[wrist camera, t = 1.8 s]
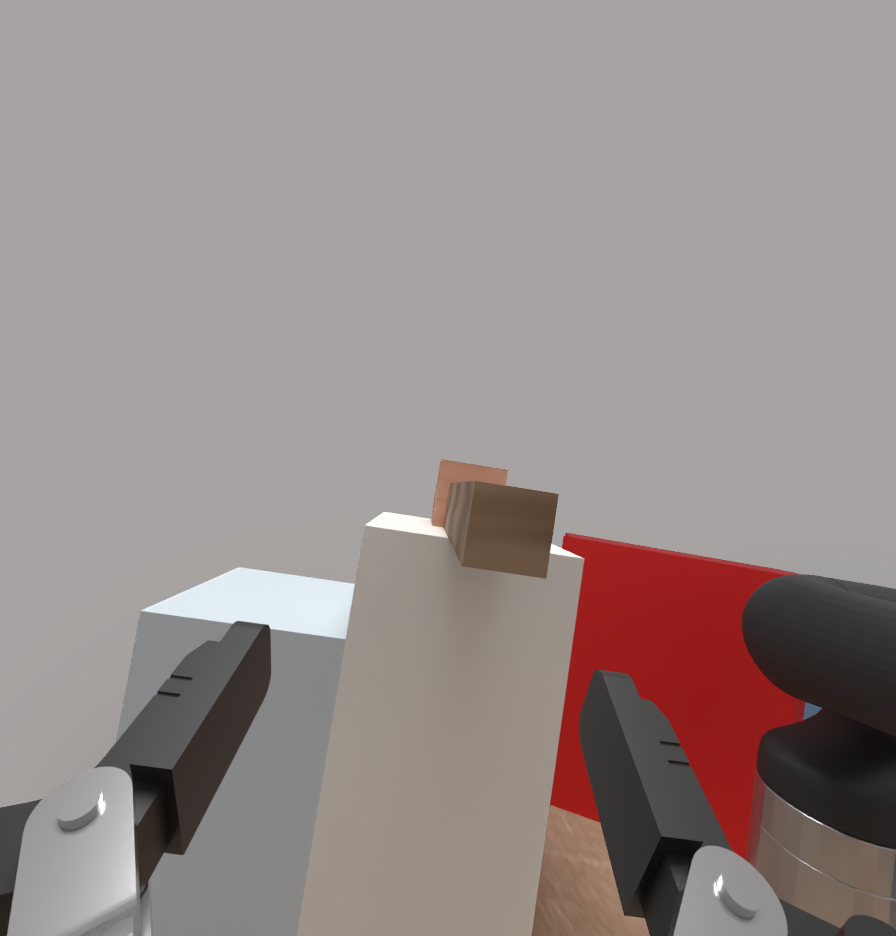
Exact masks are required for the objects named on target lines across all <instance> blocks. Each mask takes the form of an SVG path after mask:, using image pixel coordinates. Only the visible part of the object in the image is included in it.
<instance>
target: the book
mask: <svg viewBox="0 0 896 936" xmlns="http://www.w3.org/2000/svg"><path fill="white" fill-rule="evenodd" d="M562 549H564V550H566V551H569V552H571V553H573V554H575V555H577V556H580V557H582V558H584V565H583V572H582V579H581V587H580V594H579V601H578V608H577V615H576V622H575V629H574V636H573V644H572V651H571V658H570V665H569V672H568V679H567V686H566V693H565V700H564V708H563V715H562V722H561V729H560V736H559V743H558V750H557V757H556V764H555V772H554V779H553V786H552V793H551V800H550V805H553V806H556V807H558V808H561V809H564V810H567V811H570V812H572V813H575V814H578V815H581V816H584V817H586V818H589V819H592V820H595V821H598V822H600V819H599V815H598V811H597V807H596V803H595V799H594V795H593V791H592V787H591V784H590V780H589V776H588V772H587V768H586V764H585V760H584V756H583V752H582V749H581V745H580V739H579V717H580V712H581V709H582V706H583V703H584V700H585V697H586V693H587V690H588V687H589V684H590V681H591V678H592V675H593V673H594V671H595V670H604V671H612V672H620V673H627V674H628V675H630V677H631V678H632V680H633V682H634V685H635V687H636V689H637V691H638V694H639V696H640V698H641V699H645V700H651V701H652V702H653V703H654V704H655V705H656V706H657V708H658V709H659V710H660V711H661V712H662V713H663V714H664V715H665V717H666V718H667V719H668V720H669V721H670V724H671V726H672V728H673V730H674V732H675V734H676V736H677V738H678V740H679V742H680V747H681V748H683V750H684V752H685V754H686V757H687V759H688V761H689V766H690V768H692V769H693V771H694V773H695V775H696V777H697V779H698V781H699V783H700V785H701V787H702V790H703V792H704V794H705V796H706V798H707V800H708V802H709V804H710V806H711V808H712V810H713V812H714V814H715V816H716V818H717V820H718V822H719V825H720V827H721V829H722V831H723V833H724V835H725V837H726V839H727V841H728V843H729V845H730V847H731V849H732V850H733V852H734V853H736V854H737V855H739V856H740V857H742V858H743V859H745V858H746V850H747V842H748V833H749V825H750V817H751V808H752V798H753V789H754V781H755V772H756V763H757V754H758V747H759V742H760V739H761V737H762V736H763V734H764V733H765V732H767V731H768V730H770V729H772V728H776V727H780V726H784V725H789V724H793V723H797V722H800V721H803V717H804V708H805V701H802V700H799V699H796V698H794V697H792V696H790V695H788V694H786V693H785V692H783V691H782V690H780V689H779V688H778V687H776V686H775V685H774V684H773V683H771V681H770V680H769V679H768V678H767V677H766V676H765V675H764V674H763V673H762V672H761V671H760V669H759V668H758V667H757V665H756V664H755V663H754V661H753V659H752V657H751V655H750V654H749V652H748V649H747V647H746V644H745V642H744V638H743V633H742V614H743V610H744V607H745V605H746V603H747V601H748V599H749V598H750V596H751V595H752V593H753V592H754V591H755V590H756V589H758V588H759V587H760V586H761V585H762V584H764V583H766V582H767V581H769V580H772V579H774V578H777V577H780V576H785V575H795V574H797V573H793V572H788V571H782V570H778V569H773V568H767V567H761V566H755V565H749V564H744V563H738V562H732V561H726V560H721V559H715V558H709V557H703V556H698V555H692V554H686V553H680V552H675V551H669V550H663V549H657V548H651V547H646V546H640V545H634V544H628V543H622V542H617V541H611V540H605V539H599V538H593V537H588V536H582V535H576V534H570V533H566V536H564V538H563V545H562ZM797 575H801V574H797Z"/></svg>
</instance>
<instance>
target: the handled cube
mask: <svg viewBox="0 0 896 936" xmlns="http://www.w3.org/2000/svg"><path fill="white" fill-rule="evenodd" d="M507 472H508V470H505V469H498V468H492V467H485V466H479V465H474V464H467V463H461V462H455V461H448V460H442V461H441V462H440V466H439V473H438V479H437V485H436V491H435V498H434V504H433V510H432V517H431V523H432V526H437V527H443V528H444V530H445V532H446V534H447V536H448V538H449V540H450V542H451V545H452V547H453V549H454V551H455V553H456V555H457V557H458V559H459V561H460V563H461V565H462V566H464V567H471V568H477V569H484V570H491V571H497V572H504V573H511V574H518V575H524V576H531V577H538V578H545V579H546V577H547V570H548V564H549V557H550V550H551V543H552V535H553V529H554V522H555V515H556V508H557V501H558V494H554V493H548V492H542V491H536V490H530V489H523V488H517V487H511V486H505V484H506V479H507Z"/></svg>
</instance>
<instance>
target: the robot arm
mask: <svg viewBox="0 0 896 936" xmlns="http://www.w3.org/2000/svg"><path fill="white" fill-rule="evenodd" d="M742 633H743V638H744V642H745V644H746V647H747V649H748V652H749V654H750V655H751V657H752V659H753V661H754V663H755V664H756V665H757V667H758V668H759V669H760V671H761V672H762V673H763V674H764V675H765V676H766V677H767V678H768V679H769V680H770V681H771V683H773V684H774V685H775V686H776V687H778V688H779V689H780V690H782V691H783V692H785V693H786V694H788V695H790V696H792V697H794V698H796V699H799V700H802V701H805V702H807V703H810V704H813V705H816V706H819V707H822V709H821V710H820V711H819V712H818V713H817V714H815V715H813V716H812V717H810V718H808V719H806V720H803V721H800V722H797V723H793V724H789V725H784V726H780V727H776V728H772V729H770V730H768V731H767V732H765V733H764V734H763V736H762V737H761V739H760V742H759V747H758V754H757V763H756V772H755V781H754V789H753V798H752V808H751V817H750V825H749V833H748V842H747V850H746V858H745V859H743V858H742V857H740V856H739V855H737V854H736V853H734V852H733V850H732V849H731V847H730V845H729V843H728V841H727V839H726V837H725V835H724V833H723V831H722V829H721V827H720V825H719V822H718V820H717V818H716V816H715V814H714V812H713V810H712V808H711V806H710V804H709V802H708V800H707V798H706V796H705V794H704V792H703V790H702V787H701V785H700V783H699V781H698V779H697V777H696V775H695V773H694V771H693V769H692V768H690V766H689V761H688V759H687V757H686V754H685V752H684V750H683V748H681V747H680V742H679V740H678V738H677V736H676V734H675V732H674V730H673V728H672V726H671V724H670V721H669V720H668V719H667V718H666V717H665V715H664V714H663V713H662V712H661V711H660V710H659V709H658V708H657V706H656V705H655V704H654V703H653V702H652V701H651V700H645V699H641V698H640V696H639V694H638V691H637V689H636V687H635V685H634V682H633V680H632V678H631V677H630V675H628V674H627V673H620V672H612V671H604V670H595V671H594V673H593V675H592V678H591V681H590V684H589V687H588V690H587V693H586V697H585V700H584V703H583V706H582V709H581V712H580V717H579V739H580V745H581V749H582V752H583V756H584V760H585V764H586V768H587V772H588V776H589V780H590V784H591V787H592V791H593V795H594V799H595V803H596V807H597V811H598V815H599V819H600V823H601V826H602V830H603V834H604V838H605V842H606V846H607V850H608V854H609V858H610V861H611V865H612V869H613V873H614V877H615V881H616V885H617V889H618V893H619V896H620V900H621V904H622V908H623V912H624V915H626V916H633V917H641V918H645V920H646V923H647V927H648V930H649V934H650V936H896V589H892V588H887V587H881V586H876V585H869V584H863V583H857V582H851V581H845V580H839V579H833V578H826V577H821V576H815V575H797V574H795V575H785V576H780V577H777V578H774V579H772V580H769V581H767V582H766V583H764V584H762V585H761V586H760V587H759V588H758V589H756V590H755V591H754V592H753V593H752V595H751V596H750V598H749V599H748V601H747V603H746V605H745V607H744V610H743V614H742ZM270 678H271V632H270V626H269V625H267V624H259V623H252V622H244V621H236V622H235V623H233V625H232V626H231V627H230V628H229V630H228V631H227V632H226V634H225V635H224V637H223V638H222V639H221V641H220V642H217V641H210V640H208V641H206V642H205V643H203V644H202V645H200V646H199V647H198V648H196V649H195V650H193V651H192V652H190V653H189V654H188V655H186V656H185V658H184V659H183V660H182V661H181V662H180V664H179V665H178V666H177V667H176V669H175V670H174V671H173V672H172V674H171V676H170V678H169V679H167V680H166V681H165V682H164V684H163V685H162V686H161V687H160V689H159V690H158V692H157V694H156V695H154V696H153V697H152V699H151V700H150V701H149V702H148V703H147V705H146V706H145V707H144V708H143V710H142V711H141V712H140V713H139V715H138V716H137V717H136V718H135V720H134V721H133V722H132V723H131V725H130V726H129V727H128V728H127V730H126V731H125V732H124V733H123V735H122V736H121V737H120V738H119V740H118V741H117V742H116V743H115V745H114V746H113V747H112V748H111V750H110V751H109V752H108V753H107V754H106V756H105V757H104V758H103V759H102V761H101V762H100V763H99V764H98V765H97V766H96V767H95V768H93V769H90V770H87V771H84V772H81V773H79V774H77V775H74V776H72V777H71V778H69V779H67V780H65V781H64V782H62V783H61V784H60V785H58V786H57V787H55V788H54V789H53V790H52V791H50V792H49V793H48V794H47V795H46V796H45V797H44V798H43V799H40V800H37V801H32V802H28V803H23V804H17V805H12V806H7V807H2V808H0V936H153V923H152V906H151V889H150V877H151V875H152V874H153V872H154V870H155V868H156V866H157V865H158V863H159V861H160V859H161V857H162V856H163V854H164V853H169V854H177V855H184V854H185V852H186V850H187V848H188V846H189V844H190V842H191V840H192V838H193V836H194V834H195V832H196V830H197V828H198V827H199V825H200V823H201V821H202V819H203V817H204V815H205V813H206V811H207V809H208V807H209V805H210V803H211V801H212V799H213V798H214V796H215V794H216V792H217V790H218V788H219V786H220V784H221V782H222V780H223V778H224V776H225V774H226V772H227V770H228V768H229V767H230V765H231V763H232V761H233V759H234V757H235V755H236V753H237V751H238V749H239V747H240V745H241V743H242V741H243V739H244V738H245V736H246V734H247V732H248V730H249V728H250V726H251V724H252V722H253V720H254V718H255V716H256V714H257V712H258V710H259V709H260V707H261V705H262V703H263V701H264V699H265V696H266V694H267V691H268V687H269V683H270Z"/></svg>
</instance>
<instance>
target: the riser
mask: <svg viewBox="0 0 896 936" xmlns="http://www.w3.org/2000/svg"><path fill="white" fill-rule="evenodd" d="M583 565H584V558H582V557H580V556H577V555H575V554H573V553H571V552H569V551H566V550H564V549H562V548H560V547H558V546H555V545H553V544H551V550H550V557H549V564H548V570H547V577H546V579H545V578H538V577H531V576H524V575H518V574H511V573H504V572H497V571H491V570H484V569H477V568H471V567H464V566H462V565H461V563H460V561H459V559H458V557H457V555H456V553H455V551H454V549H453V547H452V545H451V542H450V540H449V538H448V536H447V534H446V532H445V530H444V528H443V527H437V526H432V523H431V519H428V518H421V517H415V516H408V515H402V514H395V513H389V512H383V513H382V514H380V515H379V516H377V517H376V518H375V519H373V520H372V521H370V522H369V523H367V524H366V525H365V526H364V531H363V538H362V544H361V550H360V556H359V562H358V568H357V574H356V580H355V584H351V583H344V582H337V581H330V580H323V579H315V578H309V577H302V576H296V575H289V574H281V573H274V572H268V571H261V570H254V569H247V568H240V567H238V568H236V569H234V570H232V571H229V572H227V573H225V574H223V575H220V576H218V577H216V578H214V579H211V580H209V581H207V582H205V583H203V584H200V585H198V586H195V587H193V588H191V589H189V590H186V591H184V592H182V593H180V594H177V595H175V596H173V597H171V598H169V599H166V600H164V601H162V602H159V603H157V604H155V605H153V606H150V607H148V608H146V609H144V610H141V611H140V617H139V622H138V627H137V633H136V638H135V643H134V649H133V654H132V659H131V665H130V670H129V675H128V680H127V685H126V691H125V696H124V701H123V707H122V712H121V718H120V723H119V728H118V733H117V738H116V742H117V741H118V740H119V738H120V737H121V736H122V735H123V733H124V732H125V731H126V730H127V728H128V727H129V726H130V725H131V723H132V722H133V721H134V720H135V718H136V717H137V716H138V715H139V713H140V712H141V711H142V710H143V708H144V707H145V706H146V705H147V703H148V702H149V701H150V700H151V699H152V697H153V696H154V695H156V694H157V692H158V690H159V689H160V687H161V686H162V685H163V684H164V682H165V681H166V680H167V679H169V678H170V676H171V674H172V672H173V671H174V670H175V669H176V667H177V666H178V665H179V664H180V662H181V661H182V660H183V659H184V658H185V656H186V655H188V654H189V653H190V652H192V651H193V650H195V649H196V648H198V647H199V646H200V645H202V644H203V643H205V642H206V641H208V640H210V641H217V642H220V641H221V639H222V638H223V637H224V635H225V634H226V632H227V631H228V630H229V628H230V627H231V626H232V625H233V623H235V622H236V621H244V622H252V623H259V624H267V625H269V626H270V632H271V678H270V683H269V687H268V691H267V694H266V696H265V699H264V701H263V703H262V705H261V707H260V709H259V710H258V712H257V714H256V716H255V718H254V720H253V722H252V724H251V726H250V728H249V730H248V732H247V734H246V736H245V738H244V739H243V741H242V743H241V745H240V747H239V749H238V751H237V753H236V755H235V757H234V759H233V761H232V763H231V765H230V767H229V768H228V770H227V772H226V774H225V776H224V778H223V780H222V782H221V784H220V786H219V788H218V790H217V792H216V794H215V796H214V798H213V799H212V801H211V803H210V805H209V807H208V809H207V811H206V813H205V815H204V817H203V819H202V821H201V823H200V825H199V827H198V828H197V830H196V832H195V834H194V836H193V838H192V840H191V842H190V844H189V846H188V848H187V850H186V852H185V854H184V855H177V854H169V853H164V854H163V856H162V857H161V859H160V861H159V863H158V865H157V866H156V868H155V870H154V872H153V874H152V875H151V877H150V889H151V906H152V923H153V936H531V935H532V928H533V921H534V914H535V907H536V900H537V893H538V885H539V878H540V871H541V864H542V857H543V850H544V843H545V836H546V828H547V821H548V814H549V807H550V800H551V793H552V786H553V779H554V772H555V764H556V757H557V750H558V743H559V736H560V729H561V722H562V715H563V708H564V700H565V693H566V686H567V679H568V672H569V665H570V658H571V651H572V644H573V636H574V629H575V622H576V615H577V608H578V601H579V594H580V587H581V579H582V572H583Z"/></svg>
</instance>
